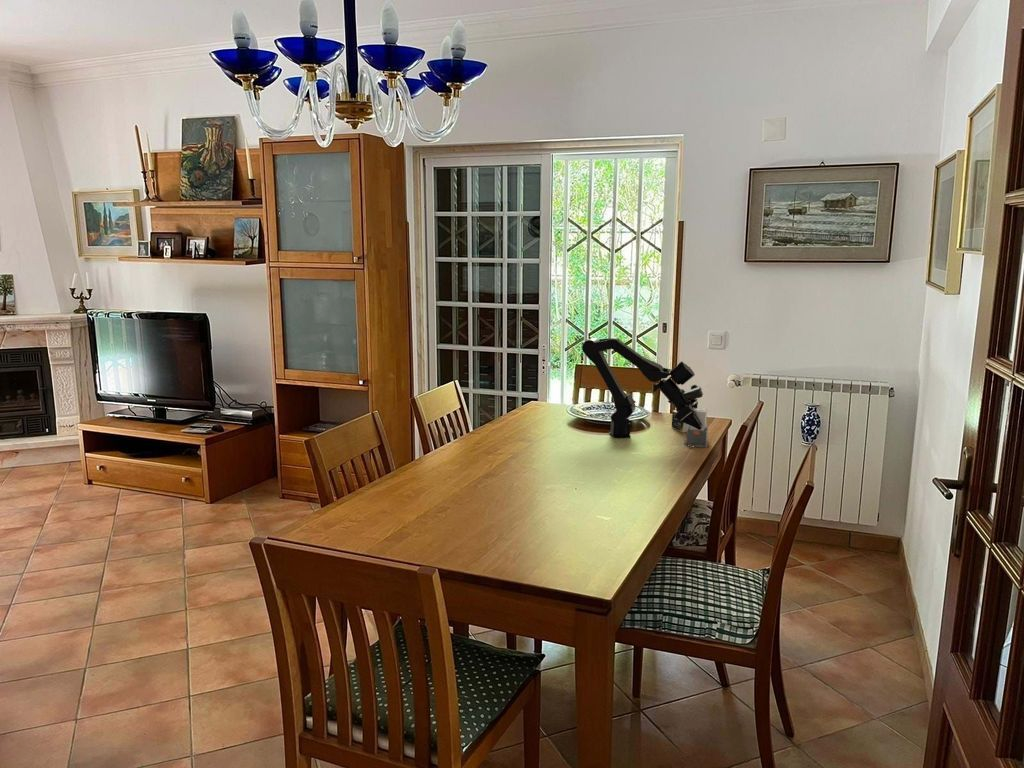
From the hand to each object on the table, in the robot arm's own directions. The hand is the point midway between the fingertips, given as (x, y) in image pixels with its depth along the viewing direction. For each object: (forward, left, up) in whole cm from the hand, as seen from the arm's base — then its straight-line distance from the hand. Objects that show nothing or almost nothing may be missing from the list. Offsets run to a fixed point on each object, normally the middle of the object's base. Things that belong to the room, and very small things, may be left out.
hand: (702, 425), depth 266 cm
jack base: (-1, +1, -7) cm, 7 cm away
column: (-1, +1, -7) cm, 7 cm away
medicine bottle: (+3, +20, -7) cm, 21 cm away
